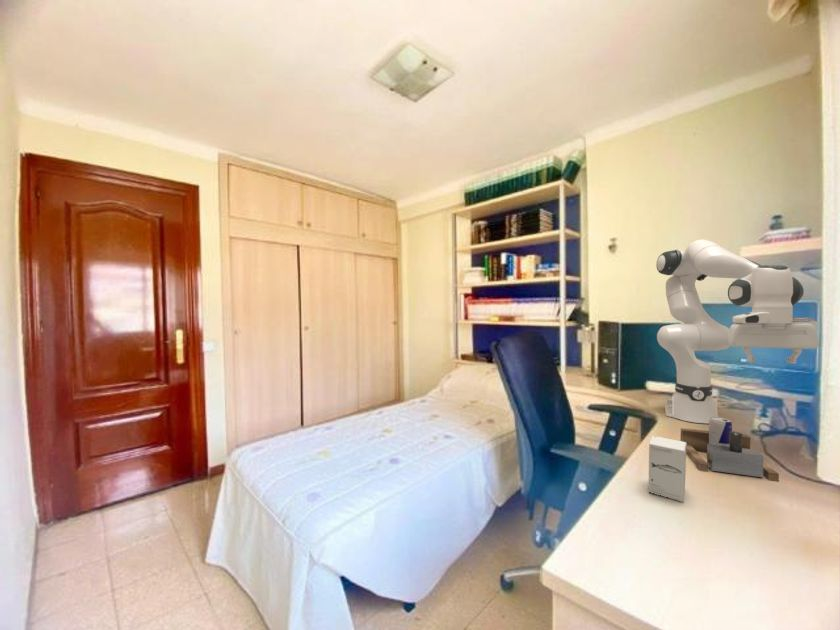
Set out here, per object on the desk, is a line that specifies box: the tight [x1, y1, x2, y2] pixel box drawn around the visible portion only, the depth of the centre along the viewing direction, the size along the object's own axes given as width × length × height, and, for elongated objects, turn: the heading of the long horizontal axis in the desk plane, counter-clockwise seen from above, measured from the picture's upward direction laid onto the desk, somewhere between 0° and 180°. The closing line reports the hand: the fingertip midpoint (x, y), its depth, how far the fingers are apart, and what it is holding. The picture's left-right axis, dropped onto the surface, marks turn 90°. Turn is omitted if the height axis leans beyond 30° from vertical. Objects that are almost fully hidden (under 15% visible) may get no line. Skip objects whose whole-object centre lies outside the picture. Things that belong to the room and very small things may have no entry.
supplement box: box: [647, 435, 687, 503], centre depth 88 cm, size 7×7×13 cm
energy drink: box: [708, 416, 733, 447], centre depth 107 cm, size 5×5×12 cm
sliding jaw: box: [706, 430, 764, 478], centre depth 98 cm, size 4×11×11 cm, turn 67°
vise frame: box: [680, 427, 780, 482], centre depth 104 cm, size 18×17×6 cm
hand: (771, 362), depth 108 cm, fingers open, 8 cm apart
